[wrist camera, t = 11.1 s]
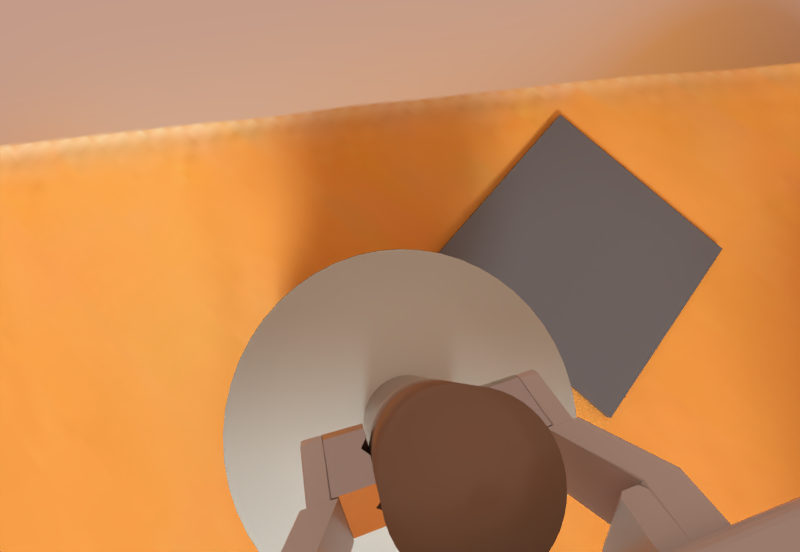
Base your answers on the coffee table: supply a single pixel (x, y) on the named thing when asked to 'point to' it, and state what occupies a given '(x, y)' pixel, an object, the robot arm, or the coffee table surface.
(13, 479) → the coffee table surface
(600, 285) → the mat
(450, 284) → the lid
